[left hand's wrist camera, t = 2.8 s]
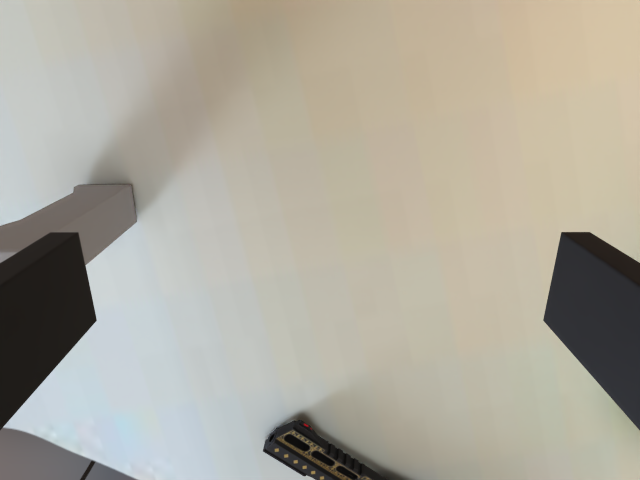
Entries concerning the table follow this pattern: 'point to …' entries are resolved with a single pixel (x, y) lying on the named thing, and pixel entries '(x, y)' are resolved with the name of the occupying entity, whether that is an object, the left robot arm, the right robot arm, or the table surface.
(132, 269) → the table surface
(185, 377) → the table surface
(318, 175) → the table surface
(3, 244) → the vintage mobile phone
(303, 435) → the decorative firearm
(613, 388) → the left robot arm
